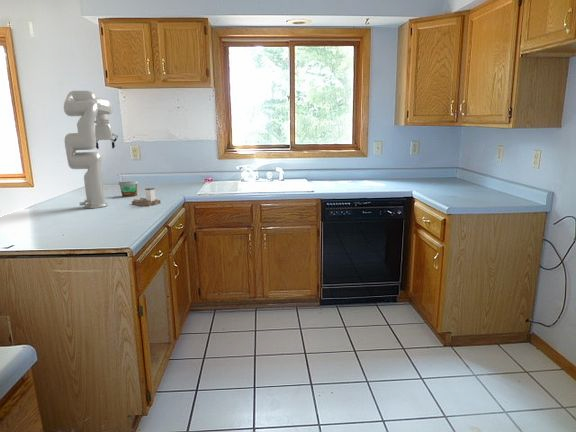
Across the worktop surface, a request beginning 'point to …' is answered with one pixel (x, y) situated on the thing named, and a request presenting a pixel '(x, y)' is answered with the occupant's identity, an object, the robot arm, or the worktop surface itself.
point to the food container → (128, 188)
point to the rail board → (145, 202)
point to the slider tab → (150, 194)
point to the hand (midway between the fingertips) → (105, 148)
